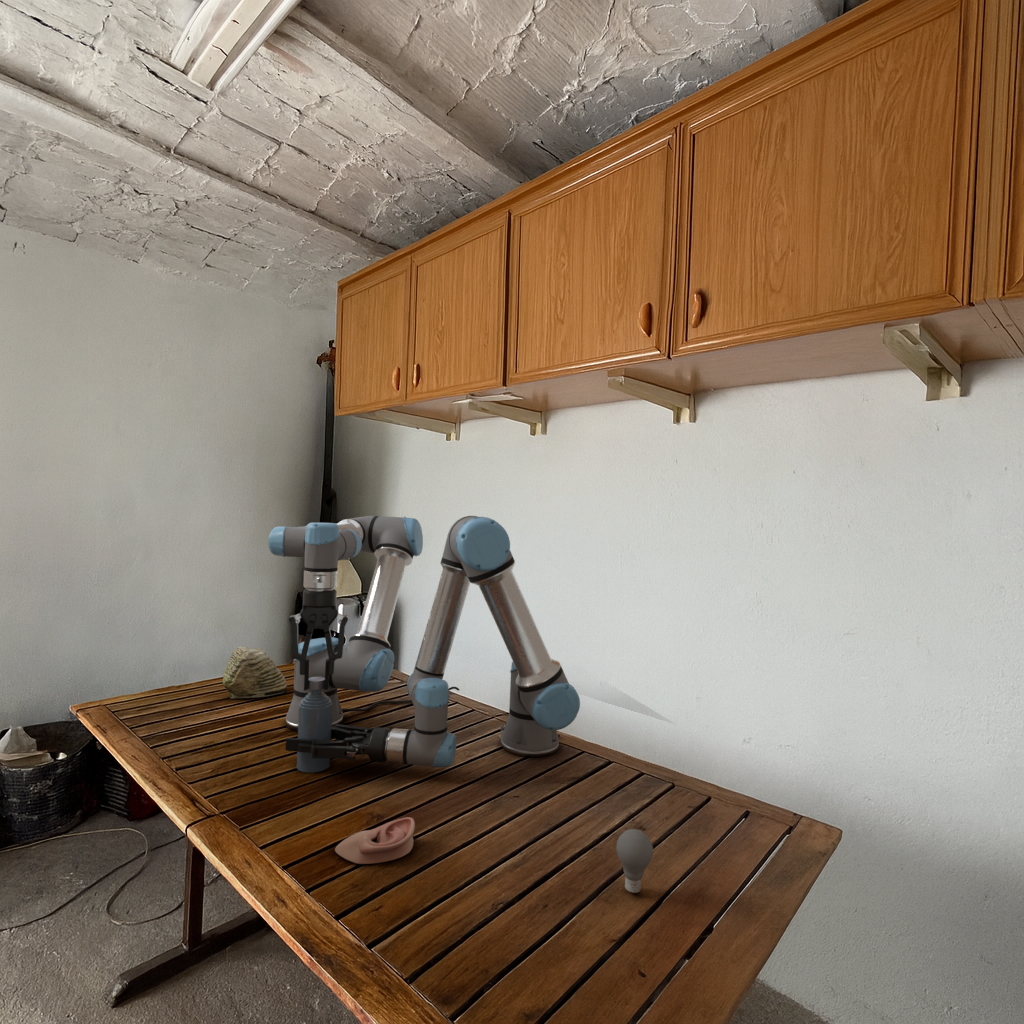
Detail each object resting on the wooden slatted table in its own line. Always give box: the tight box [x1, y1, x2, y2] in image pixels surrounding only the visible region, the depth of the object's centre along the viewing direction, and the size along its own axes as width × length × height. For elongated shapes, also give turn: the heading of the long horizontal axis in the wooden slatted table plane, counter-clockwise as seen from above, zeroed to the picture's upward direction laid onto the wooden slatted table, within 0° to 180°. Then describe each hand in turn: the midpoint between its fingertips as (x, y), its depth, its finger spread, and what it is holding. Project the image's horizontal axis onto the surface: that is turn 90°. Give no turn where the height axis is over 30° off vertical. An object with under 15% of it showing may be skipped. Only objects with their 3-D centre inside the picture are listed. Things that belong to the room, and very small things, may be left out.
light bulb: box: [615, 828, 654, 894], centre depth 106 cm, size 6×6×10 cm
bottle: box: [296, 689, 332, 774], centre depth 149 cm, size 8×8×20 cm
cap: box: [308, 677, 325, 690], centre depth 148 cm, size 4×4×2 cm
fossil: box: [222, 646, 288, 699], centre depth 198 cm, size 9×18×15 cm, turn 132°
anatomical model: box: [334, 816, 416, 865], centre depth 115 cm, size 13×4×12 cm
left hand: (316, 688), depth 148 cm, fingers closed on cap, 4 cm apart
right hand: (294, 737), depth 149 cm, fingers closed on bottle, 8 cm apart
